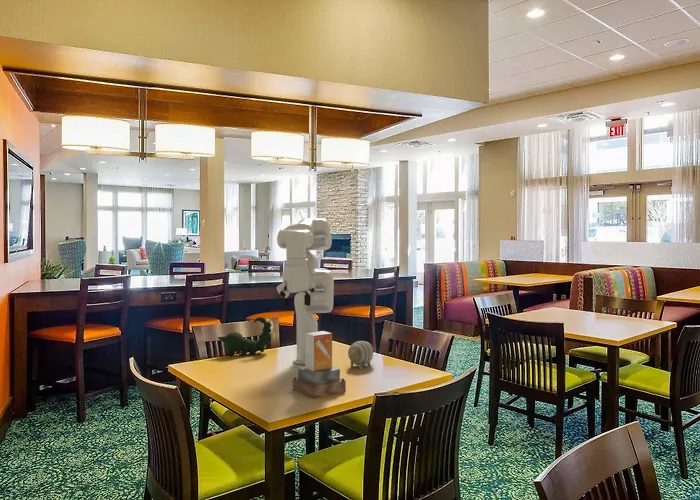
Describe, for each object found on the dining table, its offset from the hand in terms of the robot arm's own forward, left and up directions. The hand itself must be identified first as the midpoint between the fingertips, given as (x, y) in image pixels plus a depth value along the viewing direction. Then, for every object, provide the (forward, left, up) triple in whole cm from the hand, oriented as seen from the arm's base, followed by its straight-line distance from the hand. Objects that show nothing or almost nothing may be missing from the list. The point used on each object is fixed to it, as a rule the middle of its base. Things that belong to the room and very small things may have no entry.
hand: (296, 306), depth 198 cm
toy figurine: (-4, -57, -30) cm, 64 cm away
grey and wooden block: (0, +14, -29) cm, 33 cm away
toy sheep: (-34, -4, -30) cm, 45 cm away
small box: (-1, +14, -22) cm, 26 cm away
